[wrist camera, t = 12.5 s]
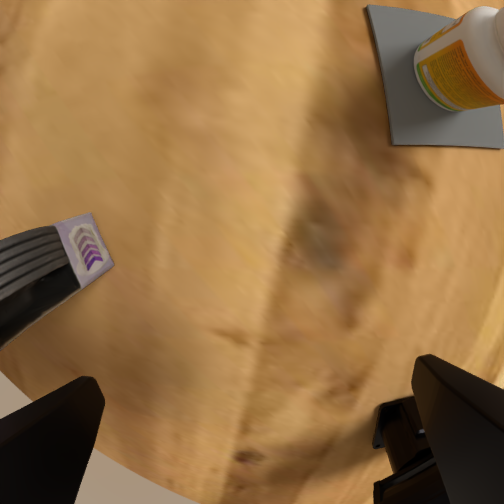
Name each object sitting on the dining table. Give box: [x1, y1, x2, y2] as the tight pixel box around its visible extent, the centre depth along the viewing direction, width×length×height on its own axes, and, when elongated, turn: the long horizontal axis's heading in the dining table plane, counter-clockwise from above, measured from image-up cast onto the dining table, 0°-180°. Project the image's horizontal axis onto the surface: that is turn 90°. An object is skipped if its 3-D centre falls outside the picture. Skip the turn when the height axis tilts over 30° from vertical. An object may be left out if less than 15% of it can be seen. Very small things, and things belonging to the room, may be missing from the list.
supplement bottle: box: [414, 6, 504, 112], centre depth 11 cm, size 5×5×10 cm
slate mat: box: [366, 5, 504, 149], centre depth 15 cm, size 10×10×1 cm
